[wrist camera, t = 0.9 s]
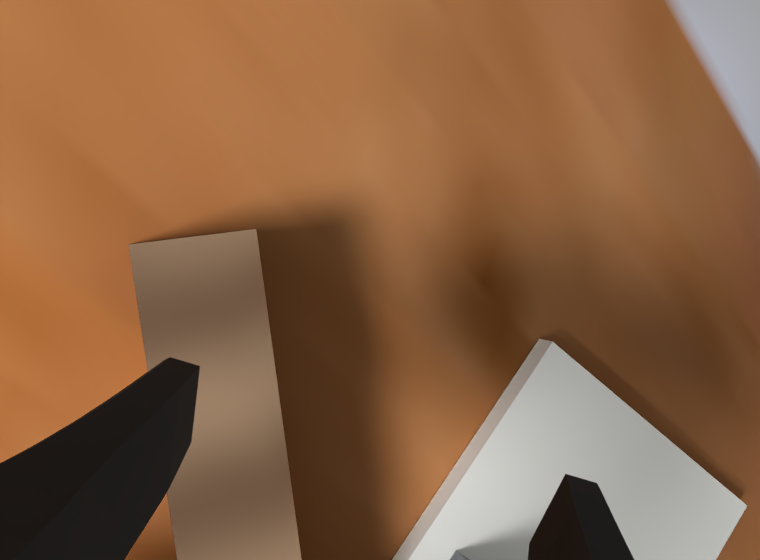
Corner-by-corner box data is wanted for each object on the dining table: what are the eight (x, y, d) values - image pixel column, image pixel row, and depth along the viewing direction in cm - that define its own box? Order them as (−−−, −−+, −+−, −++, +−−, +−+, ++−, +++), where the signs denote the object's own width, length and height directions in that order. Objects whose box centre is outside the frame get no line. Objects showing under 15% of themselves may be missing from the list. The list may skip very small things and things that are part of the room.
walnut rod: (292, 654, 26) (326, 744, 22) (198, 684, 25) (211, 785, 21) (233, 231, 25) (256, 229, 20) (129, 244, 24) (128, 244, 19)
